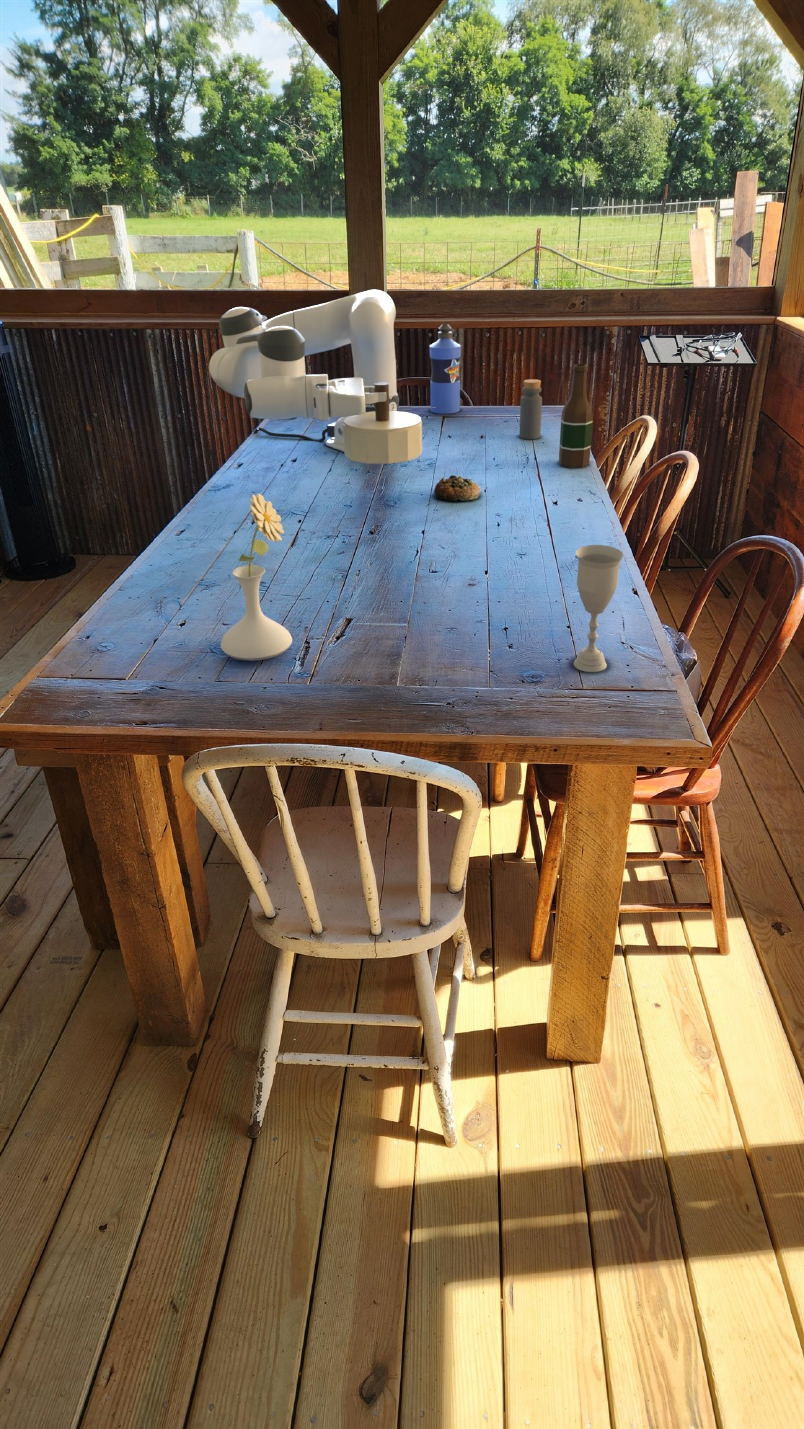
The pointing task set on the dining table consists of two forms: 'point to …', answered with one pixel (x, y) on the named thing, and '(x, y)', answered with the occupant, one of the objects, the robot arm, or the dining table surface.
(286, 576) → the dining table surface
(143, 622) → the dining table surface
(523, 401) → the bottle
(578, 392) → the beer bottle
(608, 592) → the chalice
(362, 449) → the lid
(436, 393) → the water bottle
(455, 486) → the bread roll
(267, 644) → the flower in vase
